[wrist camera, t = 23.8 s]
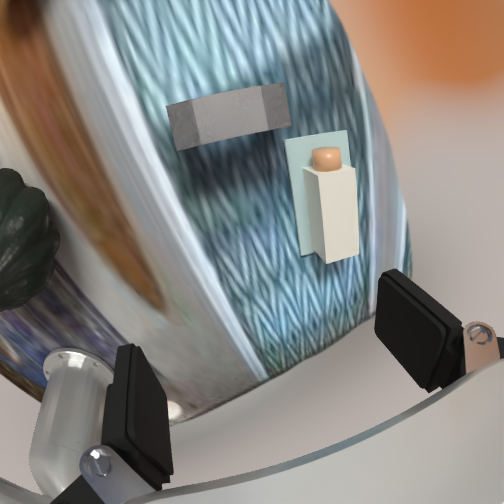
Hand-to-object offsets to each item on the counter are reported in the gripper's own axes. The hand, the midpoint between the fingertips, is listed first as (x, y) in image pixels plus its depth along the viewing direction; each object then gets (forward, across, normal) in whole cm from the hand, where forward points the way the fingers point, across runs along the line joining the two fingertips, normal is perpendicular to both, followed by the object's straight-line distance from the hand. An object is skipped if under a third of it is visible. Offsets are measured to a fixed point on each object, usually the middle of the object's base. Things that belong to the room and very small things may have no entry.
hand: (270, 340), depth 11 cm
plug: (+23, -13, +3) cm, 26 cm away
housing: (+23, -3, -8) cm, 25 cm away
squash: (+24, +23, -3) cm, 33 cm away
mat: (+23, -13, +3) cm, 27 cm away
